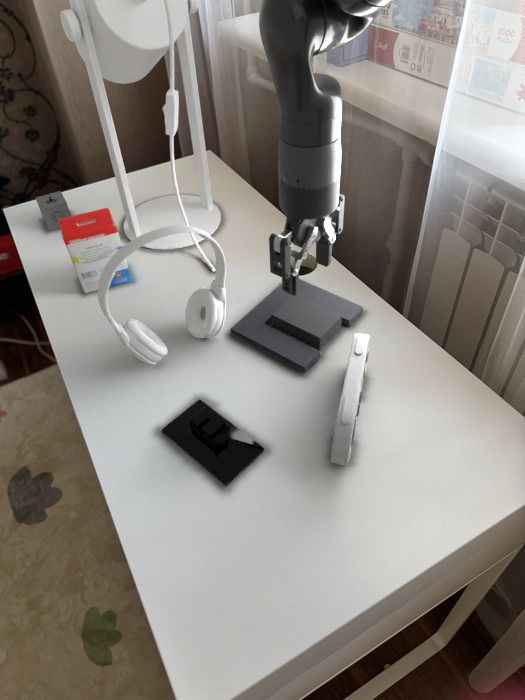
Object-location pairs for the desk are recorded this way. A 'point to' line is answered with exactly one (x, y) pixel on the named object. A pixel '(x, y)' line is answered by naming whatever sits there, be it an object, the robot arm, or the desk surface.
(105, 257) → the ink box
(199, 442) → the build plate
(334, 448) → the game controller
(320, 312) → the small pad
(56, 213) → the dice cube
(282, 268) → the robot arm
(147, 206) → the desk lamp
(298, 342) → the base pad
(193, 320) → the headphones
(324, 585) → the desk surface
